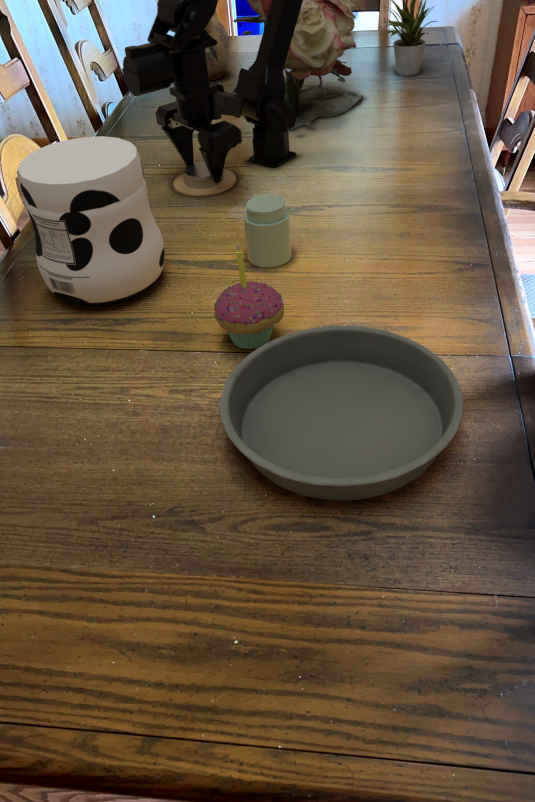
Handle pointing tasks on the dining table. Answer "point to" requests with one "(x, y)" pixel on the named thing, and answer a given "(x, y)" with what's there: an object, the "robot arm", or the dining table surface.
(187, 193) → the coaster
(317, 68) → the rose bouquet
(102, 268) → the milk container
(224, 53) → the ceramic vessel
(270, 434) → the cake pan
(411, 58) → the house plant
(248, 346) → the cupcake
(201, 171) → the lid
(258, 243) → the jar
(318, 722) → the dining table surface
